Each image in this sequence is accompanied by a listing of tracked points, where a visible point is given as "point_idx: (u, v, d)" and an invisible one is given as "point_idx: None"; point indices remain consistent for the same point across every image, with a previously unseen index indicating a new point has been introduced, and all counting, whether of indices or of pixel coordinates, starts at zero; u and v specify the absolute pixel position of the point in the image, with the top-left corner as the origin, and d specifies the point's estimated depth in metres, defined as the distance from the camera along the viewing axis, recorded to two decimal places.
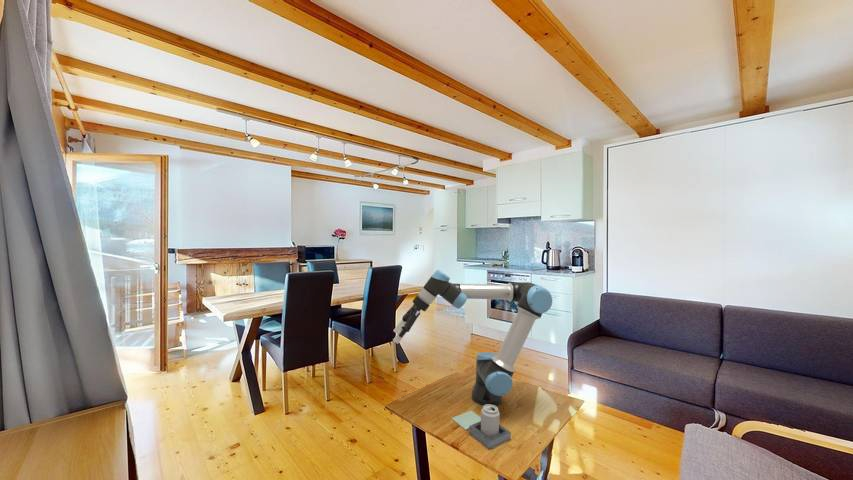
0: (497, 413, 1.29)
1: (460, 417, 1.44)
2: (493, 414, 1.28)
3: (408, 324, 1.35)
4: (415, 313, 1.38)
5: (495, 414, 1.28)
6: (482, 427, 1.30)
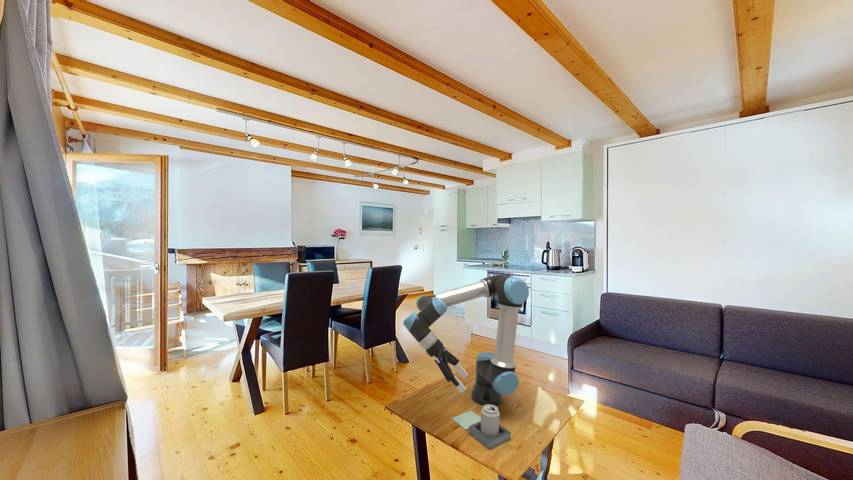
0: (497, 413, 1.29)
1: (460, 417, 1.44)
2: (493, 414, 1.28)
3: (445, 374, 1.25)
4: (437, 362, 1.28)
5: (495, 414, 1.28)
6: (482, 427, 1.30)
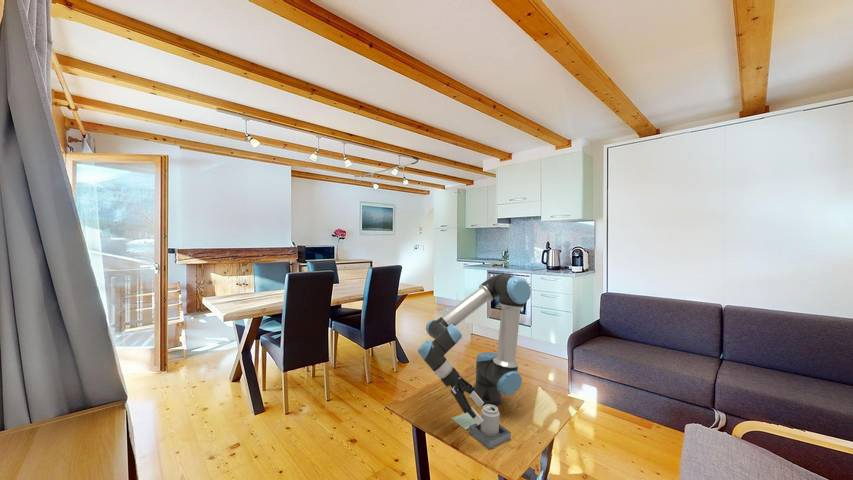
0: (497, 413, 1.29)
1: (460, 417, 1.44)
2: (493, 414, 1.28)
3: (462, 406, 1.24)
4: (453, 393, 1.27)
5: (495, 414, 1.28)
6: (482, 427, 1.30)
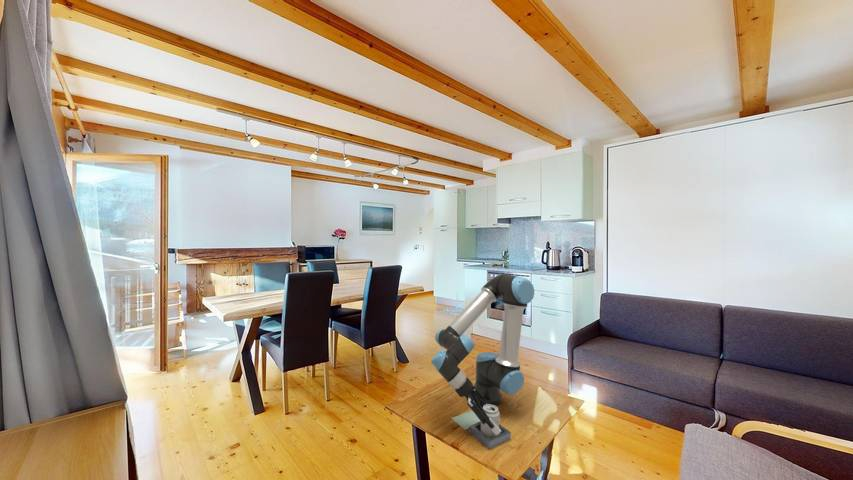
0: (497, 413, 1.29)
1: (460, 417, 1.44)
2: (493, 414, 1.28)
3: (480, 418, 1.25)
4: (470, 406, 1.26)
5: (495, 414, 1.28)
6: (482, 427, 1.30)
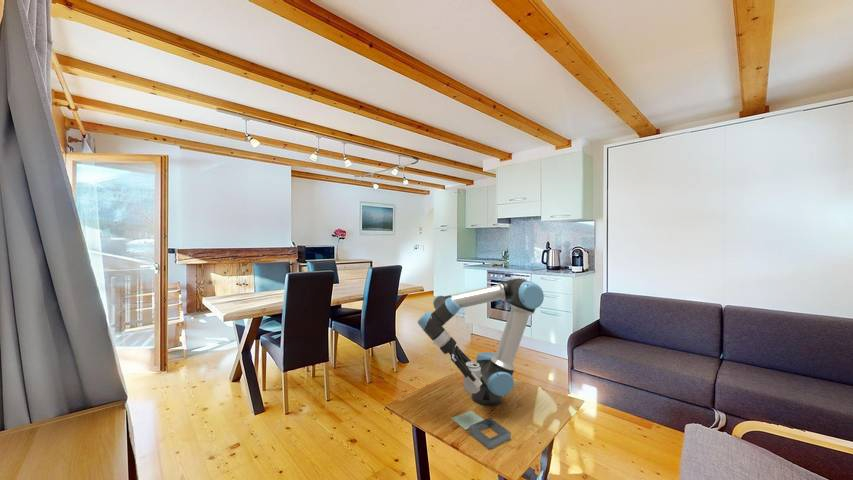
0: (478, 368, 1.39)
1: (460, 417, 1.44)
2: (475, 369, 1.38)
3: (463, 371, 1.35)
4: (454, 360, 1.36)
5: (477, 369, 1.38)
6: (465, 381, 1.40)
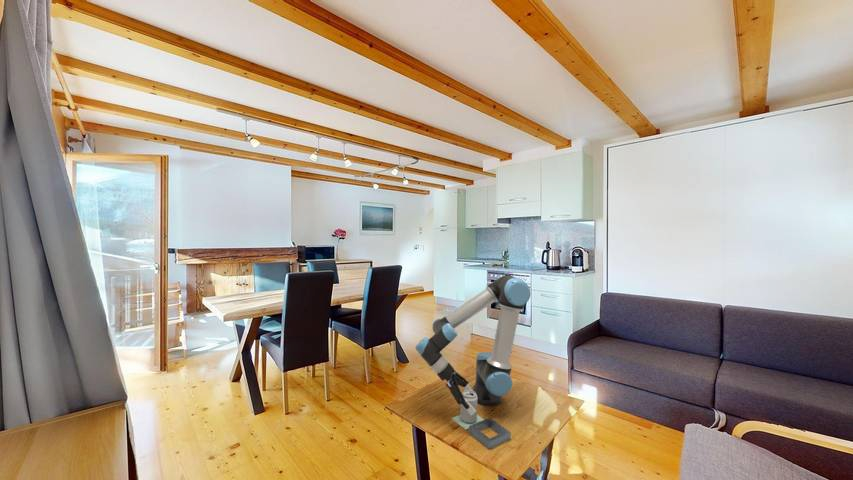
0: (475, 398, 1.40)
1: None
2: (471, 398, 1.39)
3: (456, 398, 1.34)
4: (448, 386, 1.37)
5: (473, 398, 1.39)
6: (461, 411, 1.41)
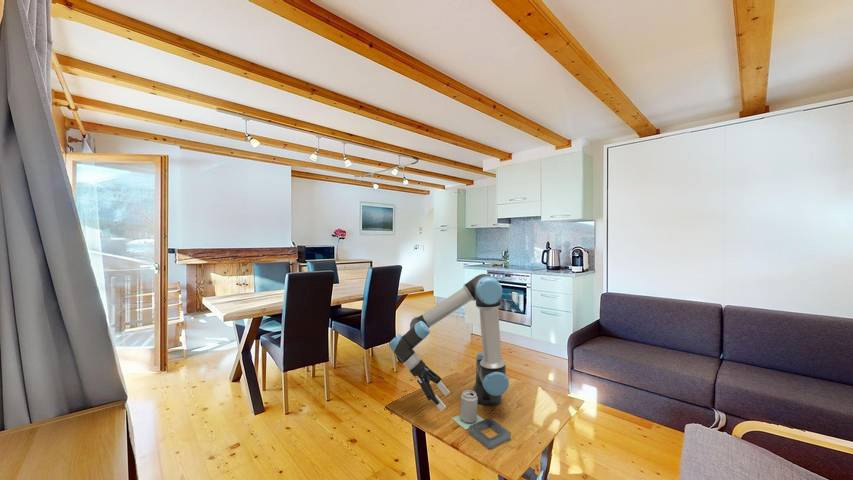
0: (475, 398, 1.40)
1: None
2: (471, 398, 1.39)
3: (426, 394, 1.36)
4: (419, 382, 1.39)
5: (473, 398, 1.39)
6: (461, 411, 1.41)
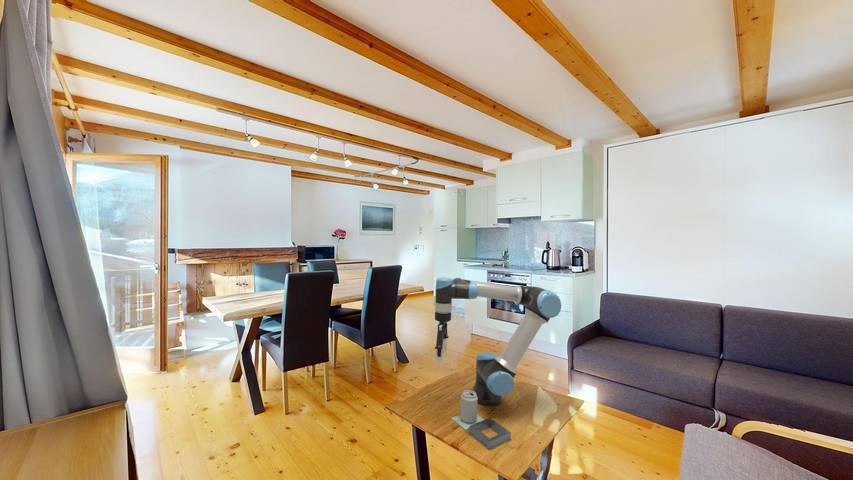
0: (475, 398, 1.40)
1: None
2: (471, 398, 1.39)
3: (437, 342, 1.36)
4: (439, 329, 1.38)
5: (473, 398, 1.39)
6: (461, 411, 1.41)
